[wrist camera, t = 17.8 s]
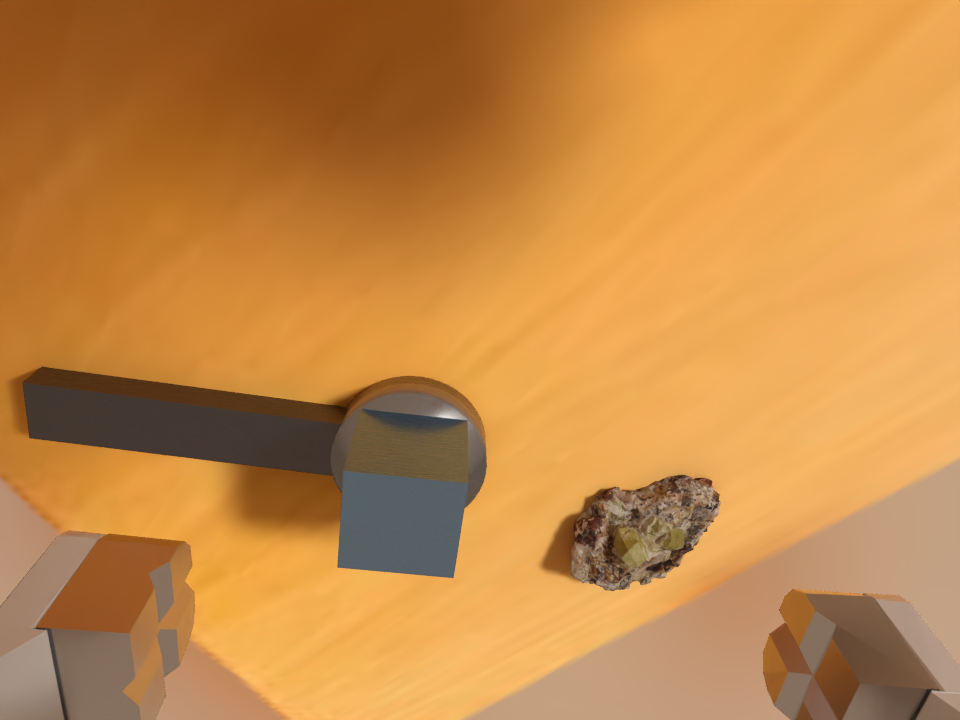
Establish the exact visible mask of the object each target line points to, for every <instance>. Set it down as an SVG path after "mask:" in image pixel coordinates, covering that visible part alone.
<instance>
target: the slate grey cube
mask: <svg viewBox="0 0 960 720" xmlns="http://www.w3.org/2000/svg"><path fill="white" fill-rule="evenodd" d="M467 488H468V420H460V419H451V418H441V417H432V416H423V415H413V414H404V413H395V412H386V411H376V410H367V409H360V413H359V416H358V420H357V423H356V427H355V431H354V434H353V438H352V442H351V445H350V449H349V453H348V456H347V460H346V464H345V467H344V471H343V487H342V503H341V519H340V535H339V551H338V568H349V569H360V570H371V571H382V572H393V573H404V574H415V575H426V576H437V577H448V578H454V571H455V565H456V558H457V552H458V545H459V539H460V533H461V526H462V520H463V513H464V507H465V501H466V494H467Z"/></svg>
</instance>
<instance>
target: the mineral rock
mask: <svg viewBox="0 0 960 720" xmlns="http://www.w3.org/2000/svg"><path fill="white" fill-rule="evenodd" d="M719 495H720V494H718V493H717V492H715V491H714V489H713V487H712V481H711V480H709V479H698V480H693V479H692V477H690V476H686V475H680V476H673V477H667V478H665V479H663V480H661V481H655V482H653V483H651V484H650V485H649V486H647V487H645V488H641V489H639V490H636V491H621V490H620V489H619V488H618V487H617V488H613V489H611V490H608V491H606V492H604V493H603V494H602V496H597V497H596V498H595V501H594V502H593V503H592V504H591V506H590V507H589V508H588V510H587V511H585V512H583V513H582V514H581V515H580V516H579V517H578V519H577V521H576V522H575V526H574V534H575V540H574V542H573V548H572V551H571V564H570V573H571V575H572V576H573V577H574V578H576V579H578V580H580V581H582V582H583V583H587V582H589V583H590V584H593V583H595V584H596V585H598V586H600V587H603V588H604V590H611V591H614V590H617V589H619V590H620V589H627V588H630V583H631V582H633V581H639V582H640V584H641V585H645V584H648V583H650V582H651V579H653V578H665V576H666V574H667V572H669V571H671V570H672V569H673V568H674V567H678V566H679V565H680V563H681V560H682V558H683V555H684V554H685V553H687V552H689V551H691V550H693V546H695V545H697V543H698V542H699V538H700V537H701V536H702V534H703V532H706V531H707V527H708V526H709V525H710V523H711V522H714V521H713V519H714V518H715V517H716V516H717V515H718V514H719V506H720V504H721V502H720V501H719Z"/></svg>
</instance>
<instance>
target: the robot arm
mask: <svg viewBox="0 0 960 720" xmlns="http://www.w3.org/2000/svg"><path fill="white" fill-rule="evenodd" d="M191 567H192V558H191V549H190V545H189V544H187V543H186V542H185V541H176V540H166V539H156V538H146V537H136V536H126V535H117V534H107V535H106V534H99V533H89V532H80V531H70V530H69V531H67V532H65V533H63V534H61V535H59V536H57V537H56V538H55V540H54V541H53V542H52V544H50V546H49V547H48V548H47V549H46V551H45V552H44V553H43V554H42V556H41V557H40V558H39V559H38V561H37V562H36V563H35V564H34V565H33V567H32V568H31V569H30V570H29V572H28V573H27V574H26V575H25V577H24V578H23V579H22V580H21V581H20V583H19V584H18V585H17V586H16V588H15V589H14V590H13V591H12V593H11V594H10V595H9V596H8V597H7V599H6V600H5V601H4V602H3V604H2V605H1V606H0V720H155V719H156V717H157V715H158V713H159V710H160V708H161V706H162V704H163V702H164V699H165V697H166V692H165V681H164V677H165V676H167V675H168V674H169V673H171V672H172V671H173V670H175V669H176V668H178V667H179V666H180V664H181V661H182V659H183V657H184V654H185V651H186V650H187V647H188V644H189V640H190V636H191V632H192V628H193V624H194V614H195V595H194V591H193V590H192V589H191V588H190V587H189V585H188V584H187V583H186V582H185V579H186V577H187V575H188V573H189V571H190V569H191ZM779 611H780V613H781V615H782V617H783V619H784V622H785V623H784V624H783V625H781V626H780V627H778V628H777V629H776V630H774V631H773V632H772V633H770V634H769V637H768V640H767V643H766V646H765V648H764V652H763V674H764V678H765V683H766V687H767V690H768V692H769V695H770V696H771V699H772V701H773V704H774V706H775V707H777V708H778V709H779V710H780V711H781V712H782V713H783V714H785V715H786V716H787V717H788V718H789V719H790V720H960V665H959V664H958V662H957V661H956V660H955V659H954V657H953V656H952V655H951V654H950V652H949V651H948V650H947V649H946V647H945V646H944V645H943V643H942V642H941V641H940V640H939V638H938V637H937V636H936V635H935V633H934V632H933V631H932V630H931V628H930V627H929V626H928V624H927V623H926V622H925V620H924V619H923V618H922V617H921V615H920V614H919V613H918V612H917V610H916V609H915V608H914V606H913V605H912V604H911V603H910V602H909V601H907V600H906V599H904V598H903V597H901V596H899V595H882V594H865V593H864V594H856V593H841V592H828V591H813V590H800V589H792V590H791V591H790V592H789V593H788V594H787V595H786V596H785V597H784V600H783V602H782V604H781V607H780V609H779Z"/></svg>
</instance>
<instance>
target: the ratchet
mask: <svg viewBox="0 0 960 720" xmlns="http://www.w3.org/2000/svg"><path fill="white" fill-rule="evenodd" d="M23 390H24V398H25V405H26V413H27V421H28V429H29V437H30V438H33V439H41V440H49V441H57V442H65V443H74V444H82V445H90V446H98V447H106V448H114V449H122V450H130V451H138V452H146V453H154V454H162V455H170V456H178V457H186V458H194V459H202V460H210V461H218V462H226V463H234V464H242V465H250V466H258V467H266V468H274V469H282V470H291V471H299V472H307V473H315V474H323V475H331V476H333V477H334V480H335V482H336V484H337V486H338V488H339V490H340V491H341V493H342V487H343V471H344V467H345V464H346V460H347V456H348V453H349V449H350V445H351V442H352V438H353V434H354V431H355V427H356V423H357V420H358V416H359V413H360V409H367V410H376V411H386V412H395V413H404V414H413V415H423V416H432V417H441V418H451V419H460V420H468V488H467V494H466V501H465V507H467V506H468V505H469V504H470V503H471V501H472V500H473V499H474V498H475V497H476V495H477V494H478V492H479V490H480V488H481V486H482V484H483V482H484V478H485V474H486V467H487V463H486V441H485V431H484V426H483V424H482V421H481V418H480V416H479V414H478V412H477V411H476V409H475V408H474V406H473V405H472V404H471V403H470V402H469V401H468V399H467V398H466V397H464V396H463V395H462V394H461V393H460V392H458V391H457V390H455V389H454V388H452V387H450V386H448V385H446V384H444V383H442V382H439V381H436V380H433V379H429V378H424V377H416V376H401V377H395V378H390V379H386V380H382V381H380V382H377V383H375V384H373V385H371V386H369V387H368V388H366V389H364V390H363V391H362V392H360V393H359V394H358V395H357V396H356V397H355V398H354V399H353V400H352V401H351V402H350V403H349V405H348V406H347V407H340V406H332V405H325V404H317V403H310V402H302V401H295V400H287V399H280V398H272V397H265V396H257V395H250V394H242V393H235V392H227V391H220V390H212V389H205V388H197V387H190V386H182V385H175V384H167V383H159V382H152V381H144V380H137V379H129V378H122V377H114V376H107V375H99V374H92V373H84V372H77V371H69V370H62V369H54V368H47V367H41V368H40V369H39V370H38V371H36V372H35V373H34V374H33V375H31V376H30V377H29V378H28V379H26V380H25V381H24V382H23ZM465 507H464V508H465Z"/></svg>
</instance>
